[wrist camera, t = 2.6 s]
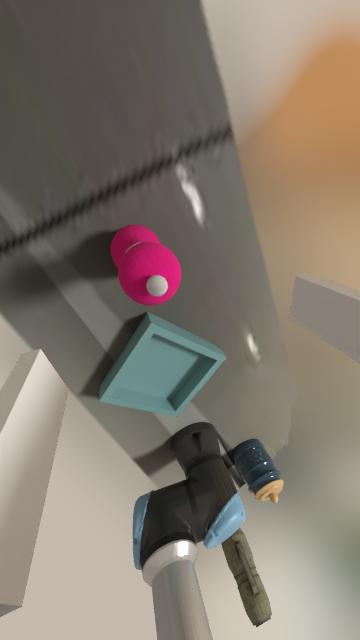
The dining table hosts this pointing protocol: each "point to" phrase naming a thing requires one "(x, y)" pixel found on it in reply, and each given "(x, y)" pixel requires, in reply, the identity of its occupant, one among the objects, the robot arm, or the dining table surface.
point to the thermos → (247, 578)
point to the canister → (258, 470)
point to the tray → (160, 368)
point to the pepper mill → (145, 265)
